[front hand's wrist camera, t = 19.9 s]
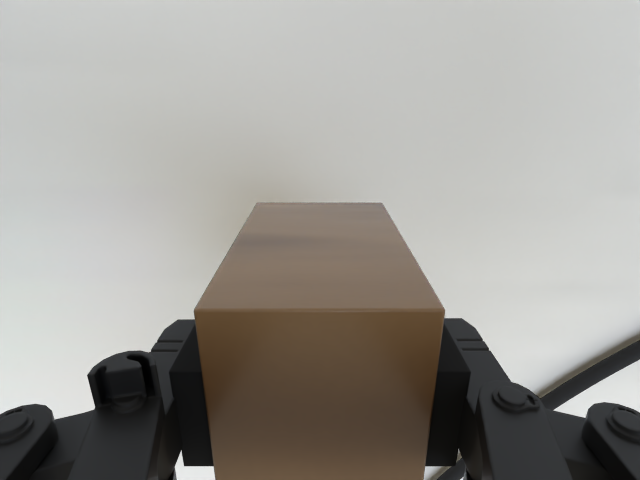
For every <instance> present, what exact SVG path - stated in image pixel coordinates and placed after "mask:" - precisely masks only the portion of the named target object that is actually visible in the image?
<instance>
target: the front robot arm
mask: <svg viewBox="0 0 640 480" xmlns="http://www.w3.org/2000/svg"><path fill="white" fill-rule="evenodd" d="M638 360H640V340H639V341H637V342H635V343H633V344H631V345H629V346H628V347H626V348H624V349H622V350H620V351H618V352H617V353H615V354H613V355H611V356H609V357H608V358H606V359H604V360H602V361H600V362H599V363H597V364H595V365H593V366H592V367H590V368H588V369H587V370H585V371H583V372H582V373H580V374H578V375H577V376H575V377H573V378H572V379H570V380H568V381H567V382H565V383H564V384H562V385H561V386H559V387H557V388H556V389H554V390H553V391H551V392H550V393H548V394H547V395H545V396H544V397H542V398H541V399H539V397H537V396H536V395H535V394H534V393H533V392H531V391H530V390H529V389H527V388H525V387H523V386H521V385H519V384H516V383H512V382H511V381H510V379H509V378H508V376H507V375H506V373H505V372H504V370H503V369H502V367H501V366H500V364H499V363H498V361H497V360H496V358H495V357H494V356H493V354H492V353H491V351H489V348H488V347H487V345H486V344H485V342H484V341H483V339H482V338H481V336H480V335H479V333H478V332H477V330H476V329H475V328H474V327H473V326H472V325H470V324H469V323H467V322H466V321H465V320H463V319H462V318H444V323H443V331H442V339H441V347H440V354H439V362H438V370H437V378H436V386H435V393H434V401H433V409H432V417H431V425H430V432H429V440H428V448H427V456H426V463H425V466H452V467H450V468H449V469H448V470H447V471H446V472H445V473H443V474H442V475H441V476H440V477H439V478H438V479H437V480H460V479H461V478H462V477H464V478H463V480H640V413H639V412H638V411H636V410H634V409H631V408H628V407H625V406H622V405H619V404H614V403H606V402H603V403H597V404H594V405H592V406H591V407H590V408H589V409H588V412H587V415H586V418H583V417H578V416H574V415H570V414H565V413H561V412H557V411H553V410H554V409H555V408H557V407H559V406H560V405H562V404H563V403H565V402H566V401H568V400H570V399H571V398H573V397H574V396H576V395H578V394H579V393H581V392H582V391H584V390H586V389H587V388H589V387H591V386H593V385H594V384H596V383H598V382H599V381H601V380H603V379H605V378H606V377H608V376H610V375H612V374H614V373H615V372H617V371H619V370H621V369H623V368H625V367H626V366H628V365H630V364H632V363H634V362H636V361H638ZM87 376H88V380H89V384H90V388H91V392H92V396H93V400H94V404H95V409H94V410H92V411H89V412H85V413H81V414H77V415H73V416H68V417H64V418H60V419H55V420H54V417H53V413H52V410H50V409H49V408H48V407H47V406H45V405H39V404H31V405H24V406H20V407H17V408H14V409H11V410H8V411H6V412H4V413H2V414H0V480H177V479H176V472H175V464H176V462H177V459H178V457H179V454H180V452H181V450H182V456H183V462H184V466H214V464H213V456H212V448H211V441H210V433H209V425H208V417H207V410H206V402H205V394H204V386H203V378H202V371H201V363H200V355H199V347H198V340H197V332H196V324H195V320H177V321H175V322H174V323H173V324H171V325H170V326H169V327H167V328H166V329H165V330H164V331H163V333H162V334H161V336H160V337H159V339H158V340H157V343H155V345H154V346H153V348H152V349H151V352H149V353H148V352H144V351H127V352H123V353H118V354H115V355H113V356H111V357H108V358H106V359H104V360H102V361H101V362H100V363H98V364H97V365H95V366H94V367H93V368H92V370H91V371H90V372H89V374H88V375H87ZM458 448H459V451H460V453H461V456H462V458H461V459H460V460H459V461H458V462H456V460H457V454H458Z"/></svg>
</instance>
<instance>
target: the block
mask: <svg viewBox="0 0 640 480" xmlns="http://www.w3.org/2000/svg"><path fill="white" fill-rule="evenodd" d="M444 315H445V309H444V307H443V306H442V304H441V302H440V300H439V299H438V297H437V295H436V294H435V292H434V290H433V289H432V287H431V285H430V283H429V282H428V280H427V278H426V277H425V275H424V273H423V272H422V270H421V268H420V266H419V265H418V263H417V261H416V260H415V258H414V256H413V255H412V253H411V251H410V249H409V248H408V246H407V244H406V243H405V241H404V239H403V238H402V236H401V234H400V232H399V231H398V229H397V227H396V226H395V224H394V222H393V221H392V219H391V217H390V215H389V214H388V212H387V210H386V209H385V207H384V205H383V203H257V204H256V205H255V207H254V209H253V210H252V212H251V214H250V215H249V217H248V219H247V221H246V222H245V224H244V226H243V227H242V229H241V231H240V232H239V234H238V236H237V237H236V239H235V241H234V243H233V244H232V246H231V248H230V249H229V251H228V253H227V254H226V256H225V258H224V260H223V261H222V263H221V265H220V266H219V268H218V270H217V271H216V273H215V275H214V277H213V278H212V280H211V282H210V283H209V285H208V287H207V288H206V290H205V292H204V294H203V295H202V297H201V299H200V300H199V302H198V304H197V305H196V307H195V309H194V316H195V324H196V332H197V340H198V347H199V355H200V363H201V371H202V378H203V386H204V394H205V402H206V410H207V417H208V425H209V433H210V441H211V448H212V456H213V464H214V472H215V480H423V479H424V471H425V463H426V456H427V448H428V440H429V432H430V425H431V417H432V409H433V401H434V393H435V386H436V378H437V370H438V362H439V354H440V347H441V339H442V331H443V323H444Z"/></svg>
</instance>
